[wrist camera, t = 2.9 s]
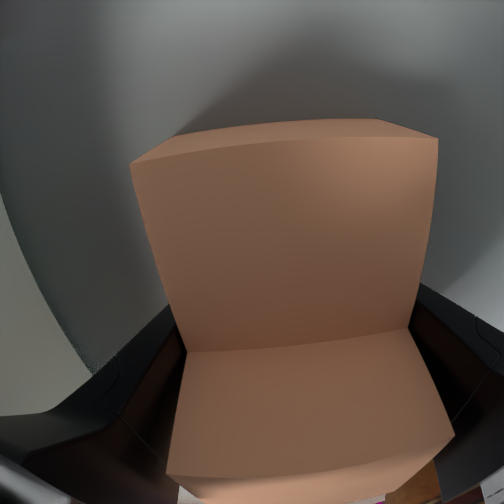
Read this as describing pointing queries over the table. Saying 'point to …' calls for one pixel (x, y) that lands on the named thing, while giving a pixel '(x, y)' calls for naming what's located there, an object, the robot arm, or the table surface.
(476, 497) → the ceramic pitcher
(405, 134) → the tan stair step
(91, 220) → the table surface
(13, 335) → the door
